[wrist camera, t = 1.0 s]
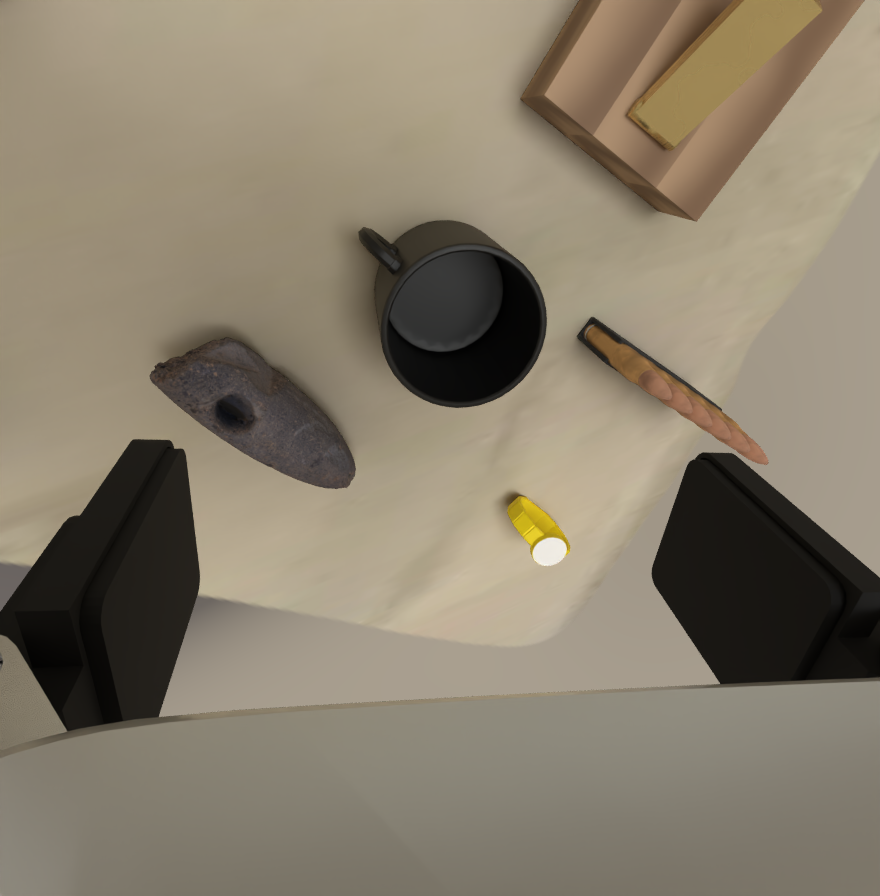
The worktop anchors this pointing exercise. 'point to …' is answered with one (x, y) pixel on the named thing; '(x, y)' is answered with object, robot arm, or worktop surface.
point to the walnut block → (637, 69)
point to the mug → (455, 313)
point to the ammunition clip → (667, 388)
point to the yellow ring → (538, 532)
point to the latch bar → (719, 65)
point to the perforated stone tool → (257, 412)
